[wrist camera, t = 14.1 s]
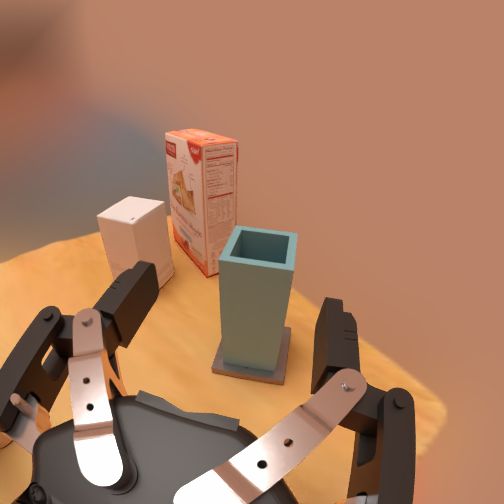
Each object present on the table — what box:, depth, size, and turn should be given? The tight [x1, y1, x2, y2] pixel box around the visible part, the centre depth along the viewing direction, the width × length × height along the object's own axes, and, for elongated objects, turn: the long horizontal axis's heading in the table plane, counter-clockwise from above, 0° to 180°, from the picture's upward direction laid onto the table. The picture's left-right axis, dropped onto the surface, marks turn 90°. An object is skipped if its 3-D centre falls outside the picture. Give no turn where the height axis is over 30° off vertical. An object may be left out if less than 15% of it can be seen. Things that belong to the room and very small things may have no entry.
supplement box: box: [97, 196, 174, 289], centre depth 38 cm, size 7×7×13 cm
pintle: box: [212, 327, 291, 385], centre depth 29 cm, size 8×8×8 cm
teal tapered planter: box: [218, 225, 297, 372], centre depth 27 cm, size 6×6×14 cm
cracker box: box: [165, 129, 238, 277], centre depth 43 cm, size 14×6×21 cm, turn 35°
